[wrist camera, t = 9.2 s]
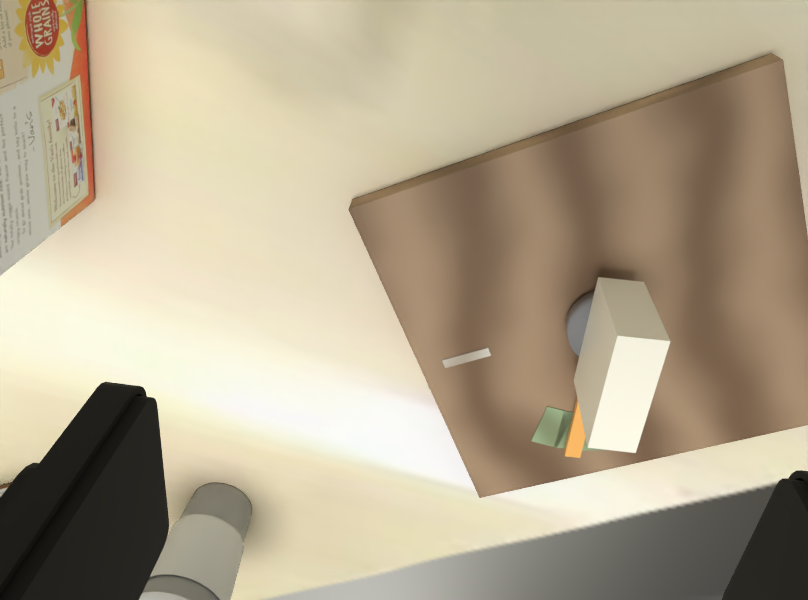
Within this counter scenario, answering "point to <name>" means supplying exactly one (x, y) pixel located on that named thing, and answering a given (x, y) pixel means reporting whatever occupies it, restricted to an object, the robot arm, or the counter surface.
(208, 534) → the cup
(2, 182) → the cracker box
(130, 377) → the counter surface
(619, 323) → the knob
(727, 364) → the dial board
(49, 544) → the robot arm
